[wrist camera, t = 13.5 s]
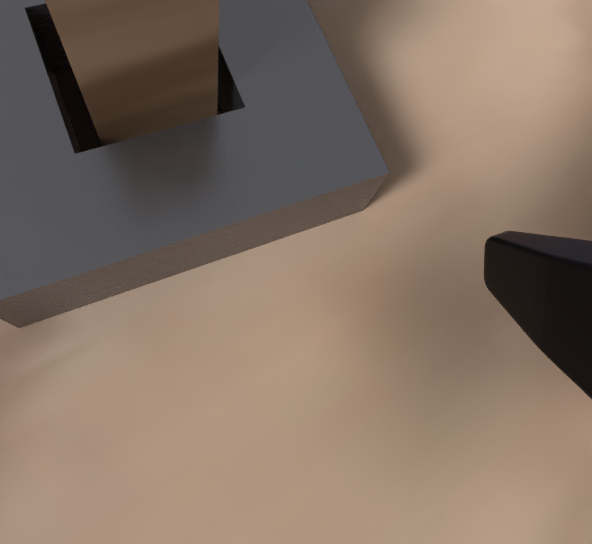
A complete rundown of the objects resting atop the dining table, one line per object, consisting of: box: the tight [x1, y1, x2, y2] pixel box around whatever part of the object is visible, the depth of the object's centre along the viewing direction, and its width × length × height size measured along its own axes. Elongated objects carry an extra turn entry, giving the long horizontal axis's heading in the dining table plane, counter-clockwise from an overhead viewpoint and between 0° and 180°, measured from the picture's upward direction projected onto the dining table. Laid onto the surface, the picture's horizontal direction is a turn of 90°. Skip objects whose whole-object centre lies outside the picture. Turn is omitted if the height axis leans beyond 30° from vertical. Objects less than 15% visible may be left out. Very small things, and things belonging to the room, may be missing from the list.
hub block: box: [0, 0, 390, 328], centre depth 20 cm, size 14×14×4 cm
